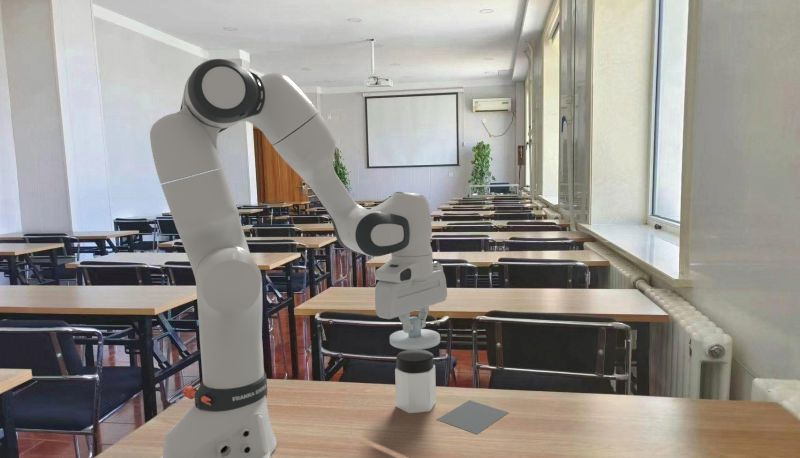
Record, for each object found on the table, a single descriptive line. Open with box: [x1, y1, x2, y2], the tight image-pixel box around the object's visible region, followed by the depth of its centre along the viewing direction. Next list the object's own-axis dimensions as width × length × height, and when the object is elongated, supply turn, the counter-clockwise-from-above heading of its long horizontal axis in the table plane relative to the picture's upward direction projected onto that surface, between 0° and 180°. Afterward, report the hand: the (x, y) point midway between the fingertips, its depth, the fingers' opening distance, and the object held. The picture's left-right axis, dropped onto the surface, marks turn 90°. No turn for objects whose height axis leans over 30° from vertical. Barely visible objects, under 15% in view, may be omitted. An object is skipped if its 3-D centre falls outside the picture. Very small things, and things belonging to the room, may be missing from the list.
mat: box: [436, 400, 510, 435], centre depth 110 cm, size 12×10×1 cm
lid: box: [389, 316, 441, 351], centre depth 115 cm, size 11×11×5 cm
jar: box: [394, 349, 437, 414], centre depth 116 cm, size 9×8×12 cm
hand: (414, 329), depth 115 cm, fingers closed on lid, 3 cm apart
